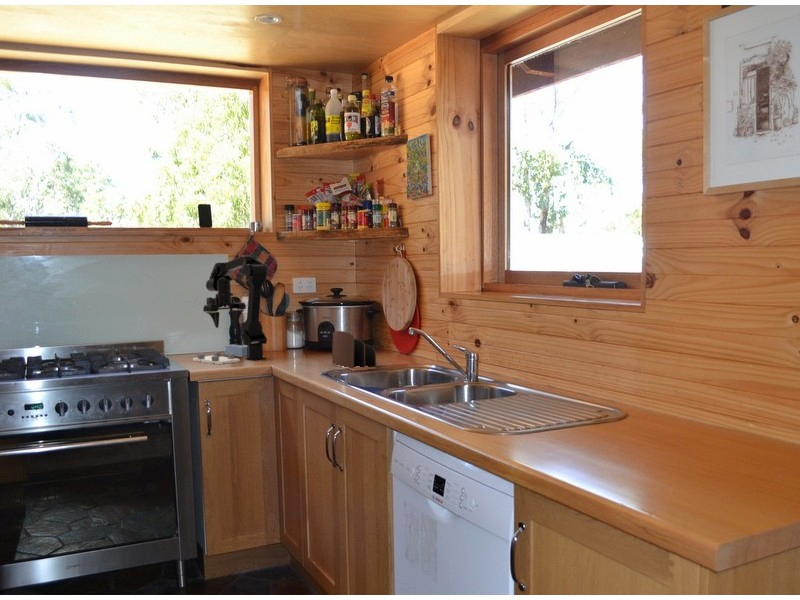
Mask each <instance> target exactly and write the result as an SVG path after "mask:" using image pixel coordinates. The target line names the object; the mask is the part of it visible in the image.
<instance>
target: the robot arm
mask: <svg viewBox="0 0 800 600" xmlns="http://www.w3.org/2000/svg"><path fill="white" fill-rule="evenodd" d="M240 269H242V272H243V273H244V274H245V280H246V282H247V283H248V287H249V288H248V296H247V297H248V302H247V306H246V304H245V302H232V296H233V295H234V293H233V292H232V291H231V290H232V287H231V285H232V284H231V283H232V282H231V281H233V277H231V275H232V274H234V273H235V271H236V270H240ZM267 274H268V268H267V267H266V266H265V264H263V263H262V262H261V261H259V260H257V259H256V258H254V257H253V256H252V255H241V256H239V257H237V258H234V259H232V260H229V261H228V262H216V263H215V264H214V266H213V268H212V270H211V273H210V275H209V279H207V281H206V283H205V288H206V289H207V290H208V291H209V292H217V293H216V294H215V296H214V298H213V297H210V296H209V297H207V298H206V304H204V305H203V312H205V313H206V314H207V315H209V316H210V317H211V318H212V319H211V320H212V322H213V324H214V326H215V328H216V329H218V328H219V326H220V325H219V324H220V310H229V309H230V312H231V314H232V325H233V327H236V326H237V324H238V321H239V318H240V317H241V314H242V312H244V310H246V308H247V313H246V320H245V321H242V322H241V325H240V326H241V328H240V336H241V340H242V344H243V345H242V346H247V356H246V357H244V360H250V361H256V360H264V359H267V357H266V356H264V353H263V351H264V350H263V349H264V348H263V347H264V344H265V345H266V344H267V342H268V338H267V337H266V335H265V333H264V331H263V325H262V323H261V321H260V312H261V300H262V299H261V297H262V287H263V285H264V284H265V282H266V280H267ZM231 309H232V310H231Z"/></svg>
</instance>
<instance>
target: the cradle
mask: <svg viewBox="0 0 800 600" xmlns="http://www.w3.org/2000/svg"><path fill="white" fill-rule="evenodd" d="M196 355H197V356H196V357H193V358H192V360H193V361H194V362H200V361H201V362H202V363H206V362H207V364H213V363H215V364H214V365H224V364H223V363H225V364H230V363H232V364H233V363H238V362H241V361H240V358H236V356H235V354H228V355H227V356H222V355H221V351H213V354H211V355H207V356H205V353H198V354H196Z"/></svg>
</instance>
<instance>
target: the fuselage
mask: <svg viewBox="0 0 800 600" xmlns="http://www.w3.org/2000/svg"><path fill="white" fill-rule="evenodd" d="M224 353H225V355H227V356H228V354H235V357H240V358H243V357H244V358H246V357H247V345H240V344H235V343H233V344H226V345H224Z"/></svg>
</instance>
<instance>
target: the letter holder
mask: <svg viewBox="0 0 800 600" xmlns="http://www.w3.org/2000/svg"><path fill="white" fill-rule="evenodd" d="M331 353H332V359H331V360H332V361H331V363H333V364H336V365H340V366H344V367H349V368H354V367H356V366H360V367H365V366H368V367H376V368H377V353H376V349H375V348H374V347H373V346H371V345H370V344H366V343H364V341H362V340H360V339H357V338H355V336H354V335H353V334H351V333H349V332H346V331H343V330H337V331H336V330H335V331H333V332H332V352H331ZM333 364H332V365H333ZM336 365H335V366H336Z"/></svg>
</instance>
